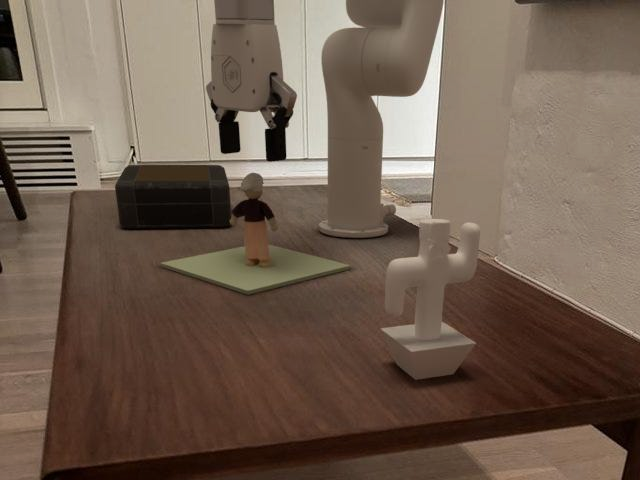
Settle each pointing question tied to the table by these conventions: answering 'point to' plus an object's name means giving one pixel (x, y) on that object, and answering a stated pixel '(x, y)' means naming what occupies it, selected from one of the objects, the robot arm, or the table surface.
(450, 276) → the figurine
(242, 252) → the mat
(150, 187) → the cash box
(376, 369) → the table surface
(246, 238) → the grandmother figurine
